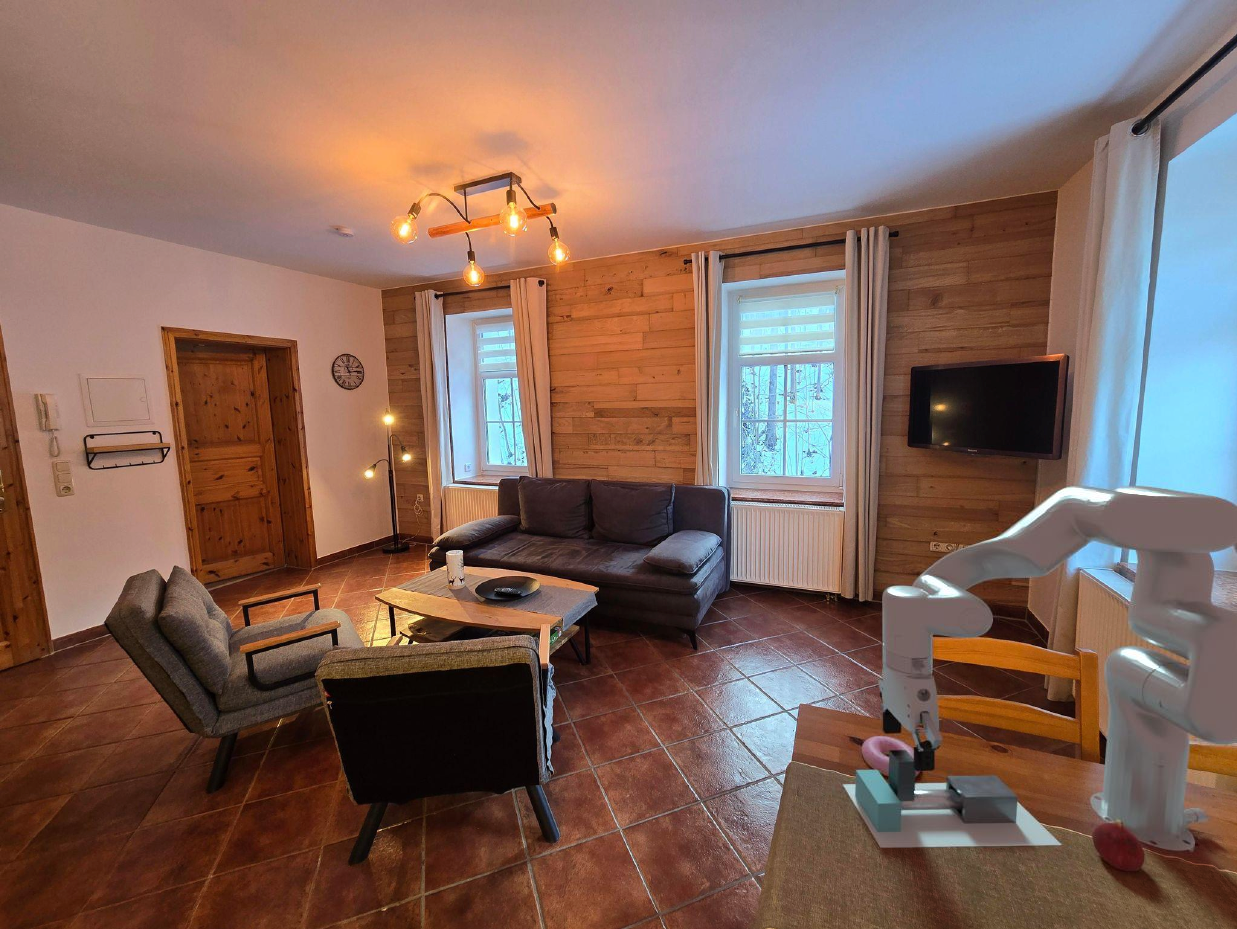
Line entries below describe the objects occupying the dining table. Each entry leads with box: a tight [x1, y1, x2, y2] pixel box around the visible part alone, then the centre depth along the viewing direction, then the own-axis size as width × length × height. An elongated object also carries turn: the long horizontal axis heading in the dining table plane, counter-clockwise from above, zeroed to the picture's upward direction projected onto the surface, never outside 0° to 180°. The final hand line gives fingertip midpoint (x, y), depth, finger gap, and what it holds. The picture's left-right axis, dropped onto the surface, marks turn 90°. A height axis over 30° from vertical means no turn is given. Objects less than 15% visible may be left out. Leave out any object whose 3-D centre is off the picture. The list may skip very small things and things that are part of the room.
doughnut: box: [861, 734, 921, 778], centre depth 101 cm, size 11×11×4 cm
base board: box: [842, 782, 1063, 849], centre depth 88 cm, size 30×14×1 cm, turn 90°
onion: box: [1091, 819, 1146, 872], centre depth 78 cm, size 6×6×8 cm
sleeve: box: [945, 775, 1019, 824], centre depth 88 cm, size 9×5×5 cm, turn 90°
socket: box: [855, 769, 902, 832], centre depth 88 cm, size 4×8×5 cm, turn 0°
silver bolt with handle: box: [887, 750, 963, 810], centre depth 88 cm, size 19×3×10 cm, turn 90°
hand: (907, 750), depth 87 cm, fingers open, 9 cm apart
